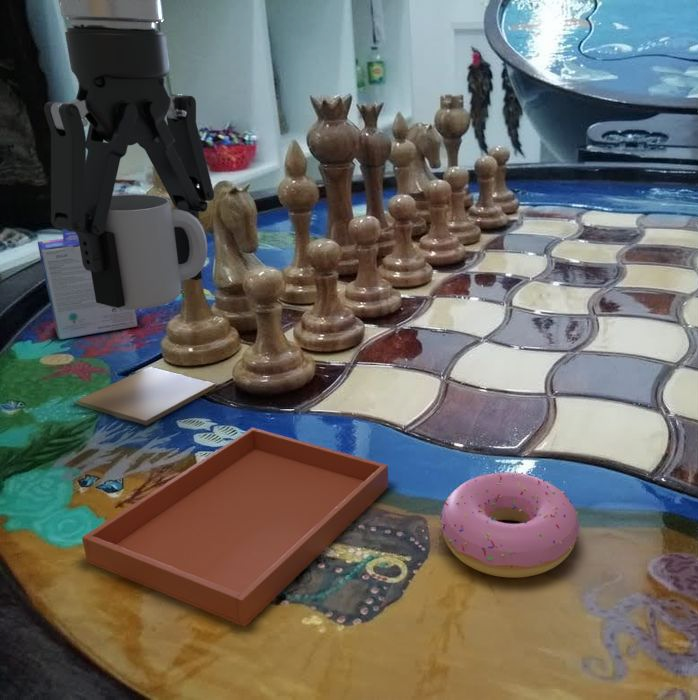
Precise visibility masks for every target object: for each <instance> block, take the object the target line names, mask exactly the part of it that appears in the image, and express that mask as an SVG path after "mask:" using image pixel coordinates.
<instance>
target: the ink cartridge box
mask: <svg viewBox="0 0 698 700" xmlns="http://www.w3.org/2000/svg"><path fill="white" fill-rule="evenodd" d="M61 230H62V238H57V239H48V240H41V241H40V240H39V241H37V247H38V252H39V258H40V261H41V262H40V263H41V267H42V271H43V277H44V281H45V286H46V290H47V293H48V294H47V295H48V298H49V302H50V307H51V313H52V317H53V322H54V328H55V329H54V330H55V332H56V335H57V338H58V340H66V339H71V338H77V337H78V338H79V337H83V336H88V335H96V334H100V333H107V332H113V331H118V330H119V331H120V330H124V329H129V328H136V327H138V326H139V325H138V324H139V323H138V319H137V318H138V317H137V312H136V310H125V309H115V308H111V307H108V306H106V305H104V304H100V303H96V298H95V292H94V286H93V281H92V275H91V271H89V270H86V269H85V267H84V266H83V262H82V257H81V251H80V245H79V239H78V236H77V234H76V233H75V232H74V231H70V230H65V229H61Z"/></svg>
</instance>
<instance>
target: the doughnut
mask: <svg viewBox="0 0 698 700" xmlns="http://www.w3.org/2000/svg"><path fill="white" fill-rule="evenodd" d="M552 483H553V482H552V481H550V480H548V481H546V480H545V479H542V478H540V477H536V476H533V475H531V474H530V473H529V474H525V473H524V472H523V471H522V472H517V470H514V472H507V471H506V472H500V471H497V472H495V471H493V472H491V473H486V474H480V475H477V476H476V477H473V478H471V479H468V480H467V481H464V482H463V483H461V484H458V485H456V486H457V487H456V488H455V489H454V490H453V492H449V495H448V497H447V496H446V497H445V501H443V502H442V504H443V506H442V509H441V515H440V517H439V521H438V523H439V524H440V528H441V531H442V534H443V538H444V541H445V543H446V545H447V546H448V548H449V550H450V552H451V553H452V554H453V555H454V556H455V557H456V558H457V559H458V560H460V561H461V562H462V563H464V564H465V565H466V566H468V567H470V568H472V569H473V570H476V571H478V572H480V573H483V574H486V575H490V576H495V577H501V578H513V579H514V578H526V577H532V576H537V575H540V574H543V573H546V572H548V571H551V570H552V569H555V568H556V567H557V566H559V565H560V564H561V563H563V562H564V561H565V560H566V558H568V557H569V555H570V554H571V552H572V550H573V549H574V546H575V544H576V541H577V540H578V539H579V533H580V522H579V517H578V514H579V511H576V509H575V507H574V505H573V503H572V502H571V500H570V499H569V498H568V496H567V495H566V492H565V490H561V489H560V488H558V487H557V486H555V485H554V484H552ZM503 521H515V522H518V523H508V522H507V523H506V522H503Z"/></svg>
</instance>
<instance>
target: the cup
mask: <svg viewBox="0 0 698 700" xmlns="http://www.w3.org/2000/svg"><path fill="white" fill-rule="evenodd" d="M199 221H200V219H199V220H198V219H197V218H196V217H194V216H193V215H192V214H190V213H189V212H186V211H182V210H178V209H174V210H173V209H172V200H171V198H170V197H167V196H163V195H156V194H147V193H146V194H144V193H143V194H142V193H139V194H138V193H132V194H130V193H129V194H128V193H127V194H112V199H111V203H110V208H109V212H108V217H107V221H106V225H105V230H104V231H106V232H112V233H114V235H115V242H116V248H117V255H118V261H119V268H120V274H121V281H122V287H123V294H124V300H125V306H122V307H120V308H116V307H112V306H108V305H106V306H108V307H111V308H115V309H125V310H135V311H136V310H146V309H152V308H158V307H162V306H165V305H168V304H170V303H172V302H175V300H177V299H178V298H179V297H180V295H181V292H182V282H183V281H188V280H191V279H190V278H192V277H194V276H196V275H197V274H198V273H199V272H200V271H201V272H202V270H203V269H204V266H205V264H206V261H207V258H208V241H207V236H206V235H207V234H206V232H205V229H204V227H203V225H202V223H201V222H199ZM174 227H181V228H183V229H184V230H185V232H186V234H187V236H188V240H189V246H190V252H189V258H188V261H187V262H186V263H184V264H178V257H177V249H176V241H175V233H174Z"/></svg>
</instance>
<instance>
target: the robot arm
mask: <svg viewBox="0 0 698 700" xmlns="http://www.w3.org/2000/svg"><path fill="white" fill-rule="evenodd" d="M58 1H59V7H60V14H61V16H62V17H63V18H64V19H66V20H70V23H71V27H67V28H66V31H64V32H65V33H64V35H65V40H66V47H67V53H68V59H69V67H70V71H71V72H72V73H73V75H74V76H75V77H76V79H77V82H78V89H77V93H76V97H75V98H76V99H71V100H69V101H65V102H57V101H47V102H46V103H45V104H44V106H43V111H44V115H45V119H46V121H47V124H48V128H49V131H50V222H51V225H52V226H53V227H54V228H56V229H60V230H62V229H65V230H67V231H74V232H75V233H76V234H77V236H78V239H79V245H80V251H81V257H82V262H83V266H84V267H85V269H86V270H89V271H91V275H92V281H93V286H94V292H95V298H96V303H100V304H104V305H108V306H112V307H116V308H120V307H122V306H125V300H124V294H123V287H122V281H121V274H120V268H119V261H118V255H117V248H116V242H115V235H114V233H112V232H106V231H104V230H105V225H106V221H107V217H108V212H109V208H110V203H111V199H112V195H114V189H115V184H116V180H117V176H118V172H119V168H120V162H121V160H122V158H123V157H125V156H126V155H127V151H128V146H134V145H135V144H137V145H138V146H139V147H141V148H142V149H143V150H144V151H145V152H146V155H147V157H148V158H149V161H150V162H151V164H152V166H153V169H154V170H155V172H156V173H157V176H158V178H159V180H160V181H161V183H162V185H163V187H164V189H165V191H166V193H167V195H168V198H169V199H170V200H171V203H172V204H173V206H174V208H177V210H182V211H186V212H189V213H190V214H192V215H193V216H194V217H196V218H197V219H198V220H199V222H200V213H199V212H201V213H205V212H206V211H207V209H208V202H211V201H213V200H214V198H215V192H214V188H213V184H212V179H211V175H210V172H209V168H208V164H207V160H206V156H205V152H204V148H203V145H202V144H203V143H202V141H201V136H200V133H199V128H198V125H197V100H196V99H195V97H194V96H192V95H187V94H186V95H185V94H172V93H171V94H170V92H169V91H168V89H167V87H166V84H165V78H167V77H168V76H169V74H170V62H169V61H170V60H169V54H168V44H167V35H166V34H164V32H163V31H161V30H157V24H159V23H162V22H163V21H164V14H163V12H164V11H163V5H162V4H163V3H162V0H58ZM165 118H166V119H165ZM88 123H89V126H88ZM87 126H88V130H87V134H86V131H85V127H87ZM172 210H175V209H172ZM200 223H201V222H200ZM174 233H175V241H176V249H177V257H178V264H184V263H186V262H187V261H188V258H189V252H190V246H189V240H188V236H187V234H186V232H185V230H184V229H183V228H181V227H174ZM202 275H203V274H202V270H201V271H200V272H199V273H198V274H197V275H196V276H194V277H192V278H190V279H189V280H193V281H198V280H201V279H203V276H202Z"/></svg>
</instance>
